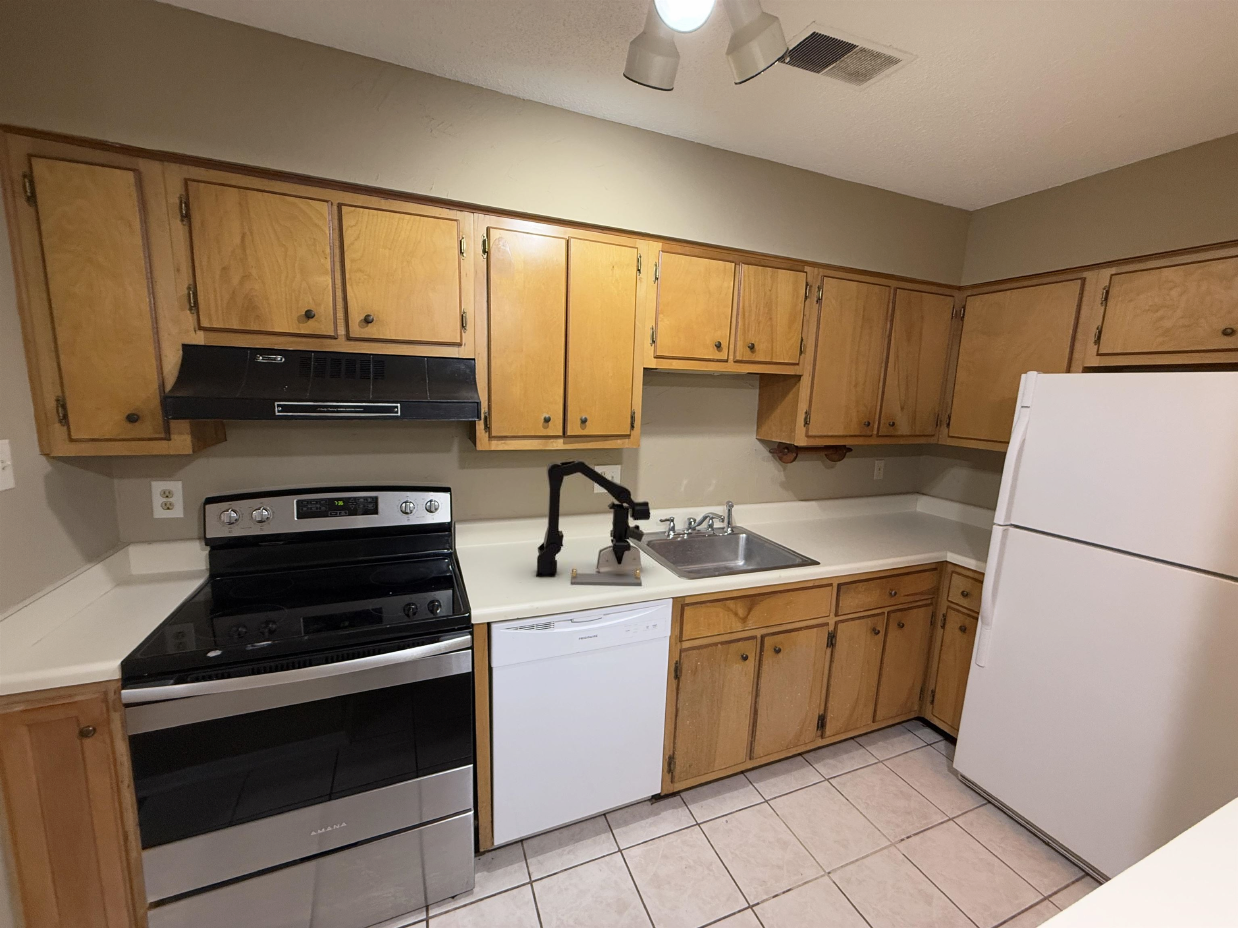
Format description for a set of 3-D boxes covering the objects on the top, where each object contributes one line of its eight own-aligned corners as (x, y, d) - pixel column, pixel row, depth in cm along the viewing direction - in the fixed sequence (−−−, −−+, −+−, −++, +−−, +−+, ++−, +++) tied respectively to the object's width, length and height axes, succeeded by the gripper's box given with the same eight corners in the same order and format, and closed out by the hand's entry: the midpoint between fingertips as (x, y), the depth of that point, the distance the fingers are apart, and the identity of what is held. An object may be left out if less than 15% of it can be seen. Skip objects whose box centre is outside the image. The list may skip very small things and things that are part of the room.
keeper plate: (570, 585, 169) (571, 573, 168) (571, 576, 177) (571, 565, 176) (641, 585, 171) (642, 574, 170) (639, 577, 178) (639, 566, 178)
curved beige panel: (599, 576, 178) (600, 549, 176) (595, 571, 182) (596, 545, 181) (642, 572, 184) (643, 545, 182) (637, 567, 188) (638, 542, 187)
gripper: (646, 528, 172) (644, 571, 174) (640, 514, 190) (638, 554, 193) (613, 527, 171) (612, 571, 174) (610, 513, 190) (609, 553, 192)
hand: (619, 562), depth 183 cm, fingers closed on curved beige panel, 4 cm apart
